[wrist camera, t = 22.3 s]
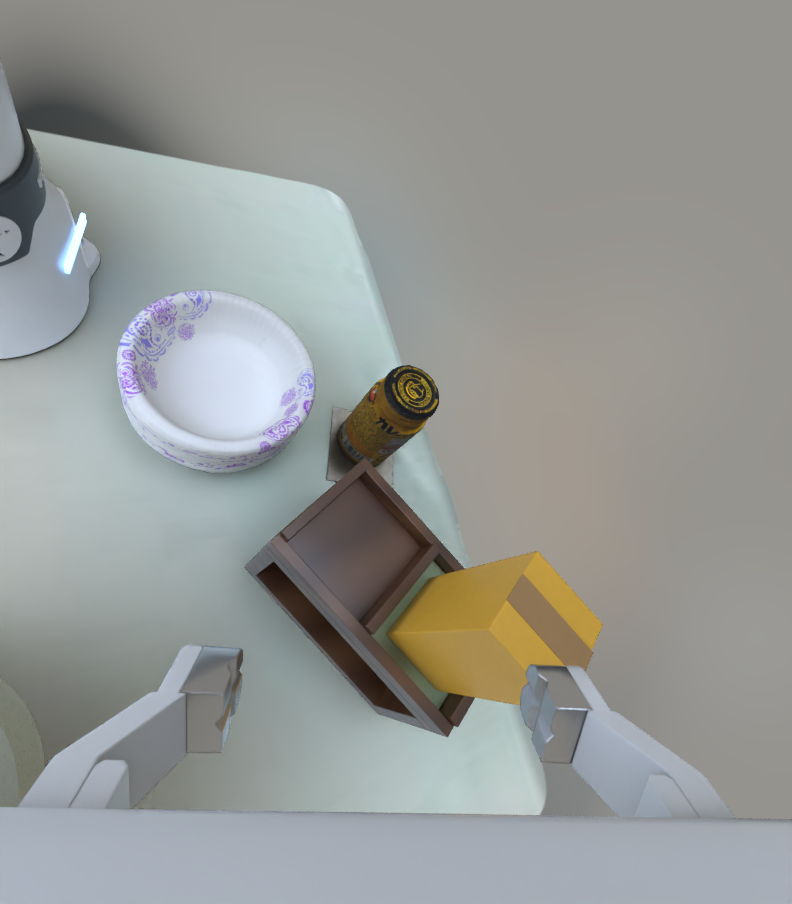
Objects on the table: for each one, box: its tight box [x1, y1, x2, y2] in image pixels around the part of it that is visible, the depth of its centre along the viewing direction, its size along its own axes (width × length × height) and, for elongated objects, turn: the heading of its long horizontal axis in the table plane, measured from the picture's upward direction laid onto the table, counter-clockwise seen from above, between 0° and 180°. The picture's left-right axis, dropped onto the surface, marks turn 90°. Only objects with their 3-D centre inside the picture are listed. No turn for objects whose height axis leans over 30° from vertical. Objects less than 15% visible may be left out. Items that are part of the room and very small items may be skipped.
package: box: [386, 551, 603, 705], centre depth 27 cm, size 6×6×12 cm
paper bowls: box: [117, 290, 316, 473], centre depth 39 cm, size 15×15×8 cm
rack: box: [245, 458, 475, 737], centre depth 36 cm, size 17×10×12 cm, turn 48°
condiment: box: [327, 365, 439, 487], centre depth 42 cm, size 7×8×12 cm
